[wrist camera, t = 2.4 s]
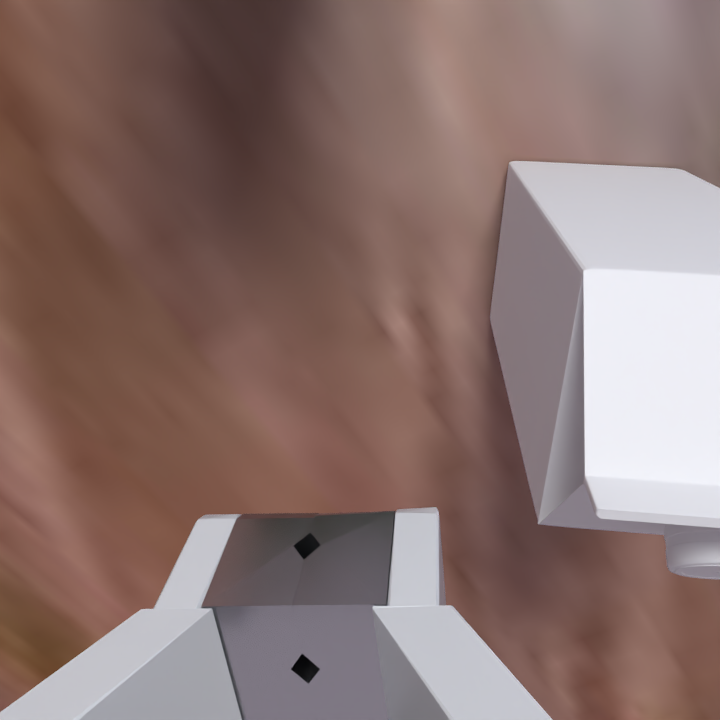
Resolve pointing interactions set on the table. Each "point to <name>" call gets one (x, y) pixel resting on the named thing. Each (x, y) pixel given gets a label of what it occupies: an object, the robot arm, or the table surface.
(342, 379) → the table surface
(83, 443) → the table surface
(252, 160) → the table surface
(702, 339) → the milk carton
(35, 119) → the table surface
